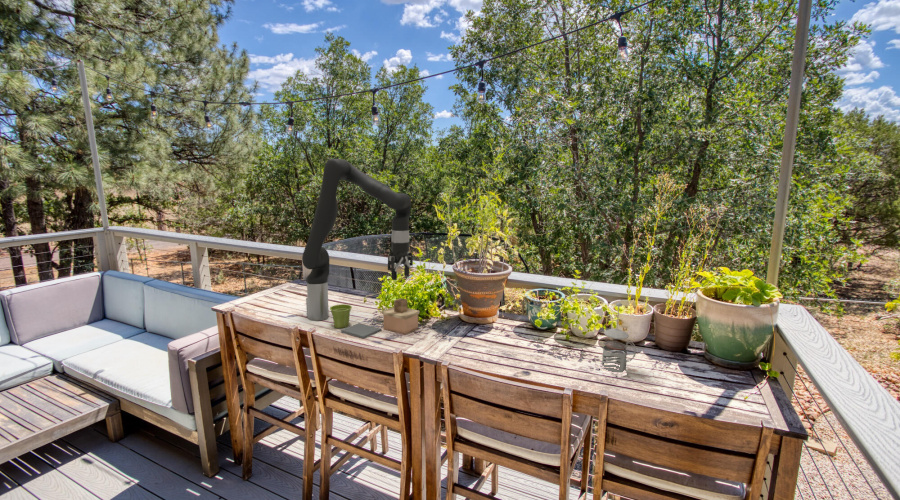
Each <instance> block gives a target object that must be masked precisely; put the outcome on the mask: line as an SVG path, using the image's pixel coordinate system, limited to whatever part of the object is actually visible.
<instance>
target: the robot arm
mask: <svg viewBox="0 0 900 500" xmlns="http://www.w3.org/2000/svg"><path fill="white" fill-rule="evenodd" d="M340 181H346V182H349V183H351V184H354V185H356V186H358V187H359V188H360V189H361V190H363V191H364V192H365V193H366V194H367V195H369V196H370V197H372V198H375V200H378V201H380V202H382V203H383V204H384V205H385V206H387V207H388V208H389V209H392V210H395V213H394V216H393V217H392V220H391V252H392V253H393V254H392V256H391V255H388V256H387V271H390V272H391V275H390V276H391V279H392V280H393V281H397V280H398V278H397V277H398V272H397V271H398V268H399V267H400V266H402V265H403V267H404V268H403V269H404V271H403V275H404V277H409V276H410V268H411V267H412V266H413V265H414V263H413V260H414V259H413V252H412V251H411V252H410V225H409V223H410V222H409V219H410V216H411V210H412V199H411V197H410V195H408V194H407V193H405V192H402V193H401V192H400V193H398V192H396V191H394V190H393V189H392V188H391V187H390V186H389V185H387V184H386V183H383V182H381V181H379V180H378V179H376V178H373V177H372V176H370V175H367V174H366V173H365V172H363V171H361V170H360V169H358V168H357V167H356V166H354V165H353V164H352V163H350V162H349V161H348V160H346V159H343V158H330V159H328V161H326V163H325V165H324V168H323V174H322V182H321V187H320V188H321V189H320V192H319V196H318V201H317V204H316V208H315V212H314V216H313V221H312V225H311V229H310V233H309V236H308V239H307V242H306V245H305V247H304V250H303V253H302V257H301V260H302V264H303V266H304V267H305V269H307V270H311V271H310V273H309V274H308V275H307V276H306V295H307V297H306V298H305V302H306V305H305V306H306V318H308V320H310V321H313V322H314V321H316V322H318V321H323V320H327V319H328V318H329V313H330V312H329V310H330V307H329V288H328V287H329V284H328V283H329V282H328V278H329V275H330V254H329V253H328V250H327V249H326V248H324V247H323V244H324V241H325V240H326V239H327V238H328V235H329V234H330V233H331V231H332V230H333V228H334V226H335V224H336V221H337V217H338V211H339V206H338V200H337V192H338V187H339V184H340Z"/></svg>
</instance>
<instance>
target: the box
mask: <svg viewBox="0 0 900 500" xmlns="http://www.w3.org/2000/svg"><path fill="white" fill-rule="evenodd" d="M382 316H383V330H385V331H388V332H389V331H390V332H393V333H397V334H401V335H403V336H405V335H408V334H410V333H412V332H414V331H416V330H418V328H419V314H417V315H415V316H413V317H410V318H408V319H406V320H405V319H401V318H396V317H392V316H388V315H384V314H382Z"/></svg>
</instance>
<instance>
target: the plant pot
mask: <svg viewBox="0 0 900 500" xmlns="http://www.w3.org/2000/svg"><path fill="white" fill-rule="evenodd" d="M352 309H353V306H352V305H350V304H341V303H340V304H336V305H332V306H330V307H329V310H330V312H331V316H332V320H333V326H334V328H335V329H345V328H348V327H349V325H350V324H349V323H350V314H351V311H352Z"/></svg>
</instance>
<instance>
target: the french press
mask: <svg viewBox="0 0 900 500" xmlns="http://www.w3.org/2000/svg"><path fill="white" fill-rule="evenodd" d="M615 306H616V307H618V308H617V315H619V312H620V307H622V306H623V304H622V302H620V301H619V302H616V303H615ZM618 324H619V317H617V319H616V326H618ZM603 334H604V336H606V337H608V338H610V339H613V340H609V341H606V342H604V346H603V349H602V358H601V359H602V360H601V365H603V366H604V367H616V368H619V370H617V369H614V368H604V369H606V370H608V371H612V372H623V371H624V370H626V371H627V363H628V362H631V361H633V359H634V358H635V357H636V354H637V347H636V345H635V344H634V342H633V341H632V340H630V339H629V338H630V337H629V336H630V335H629V334H628V332H626V331H625V330H622V329H619V328H609V329H606V330H604V331H603ZM626 339H627V341H625V343H622V342H620V341H617V340H626ZM629 344H630V345H631V347H632V349H633V356H632V358H630V359H629V358H628V359H627V357H628V356H627V355H628V354H627V353H628V350H627V346H628V345H629ZM604 363H615V364H618V365H620V367H619V366H616V365H604Z"/></svg>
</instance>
